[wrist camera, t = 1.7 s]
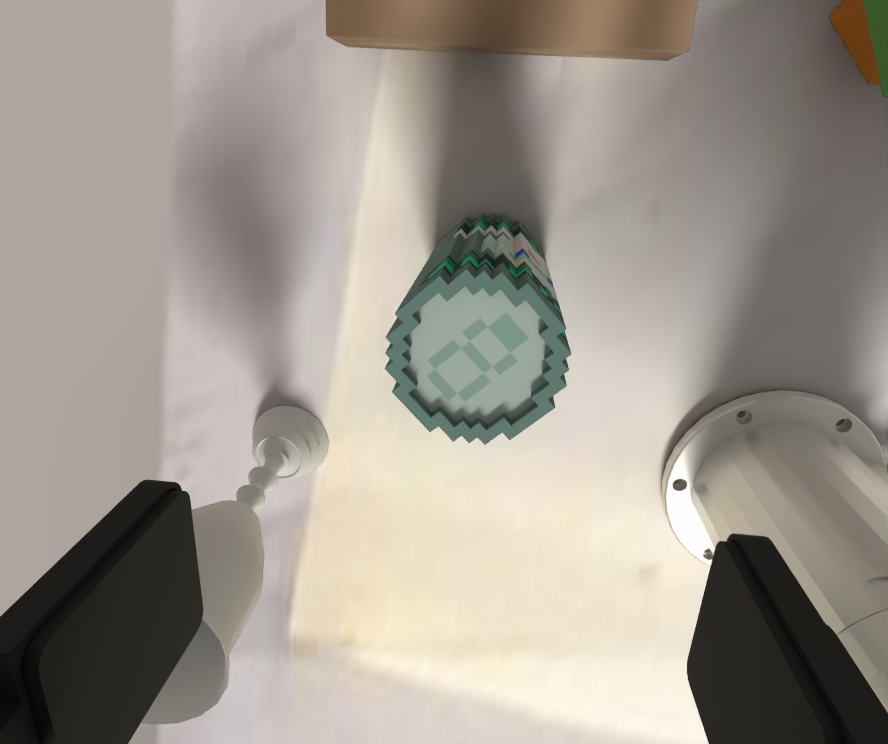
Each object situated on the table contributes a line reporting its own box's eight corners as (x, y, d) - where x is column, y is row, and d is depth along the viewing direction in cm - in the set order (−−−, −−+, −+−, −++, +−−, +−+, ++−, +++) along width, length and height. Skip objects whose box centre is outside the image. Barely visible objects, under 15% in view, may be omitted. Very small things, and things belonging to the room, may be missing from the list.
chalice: (261, 496, 42) (100, 736, 25) (218, 408, 40) (12, 607, 23) (360, 472, 41) (258, 708, 24) (321, 379, 39) (180, 569, 22)
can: (564, 276, 35) (603, 373, 21) (481, 342, 37) (466, 471, 23) (495, 192, 34) (487, 234, 20) (413, 264, 35) (352, 350, 22)
